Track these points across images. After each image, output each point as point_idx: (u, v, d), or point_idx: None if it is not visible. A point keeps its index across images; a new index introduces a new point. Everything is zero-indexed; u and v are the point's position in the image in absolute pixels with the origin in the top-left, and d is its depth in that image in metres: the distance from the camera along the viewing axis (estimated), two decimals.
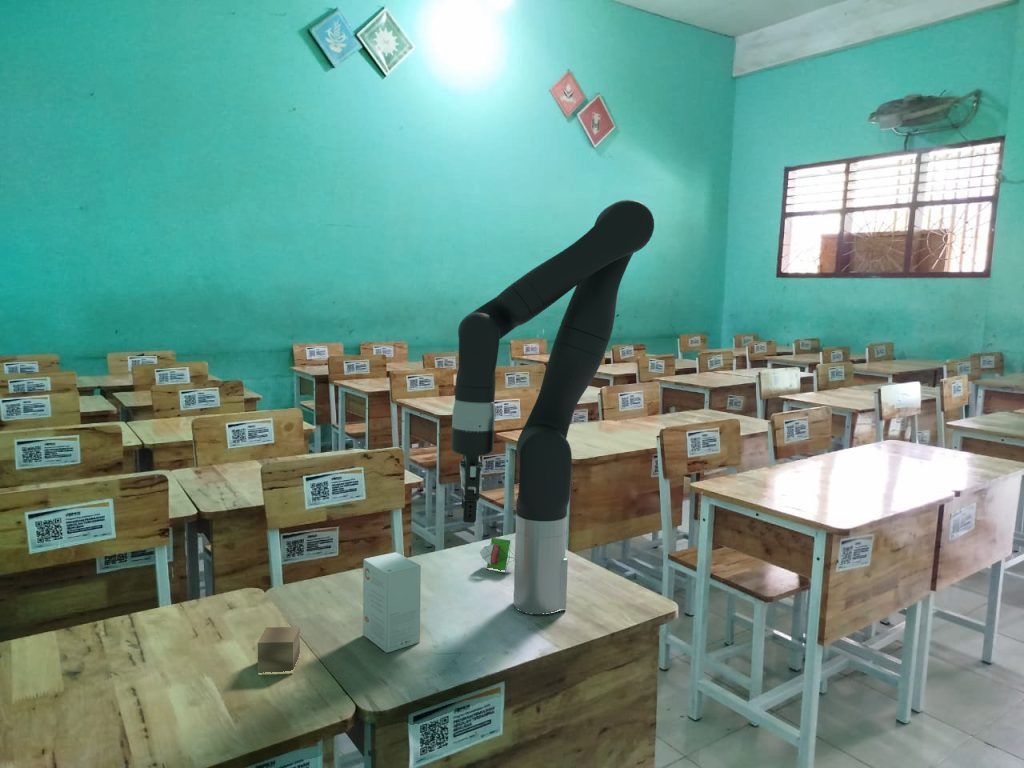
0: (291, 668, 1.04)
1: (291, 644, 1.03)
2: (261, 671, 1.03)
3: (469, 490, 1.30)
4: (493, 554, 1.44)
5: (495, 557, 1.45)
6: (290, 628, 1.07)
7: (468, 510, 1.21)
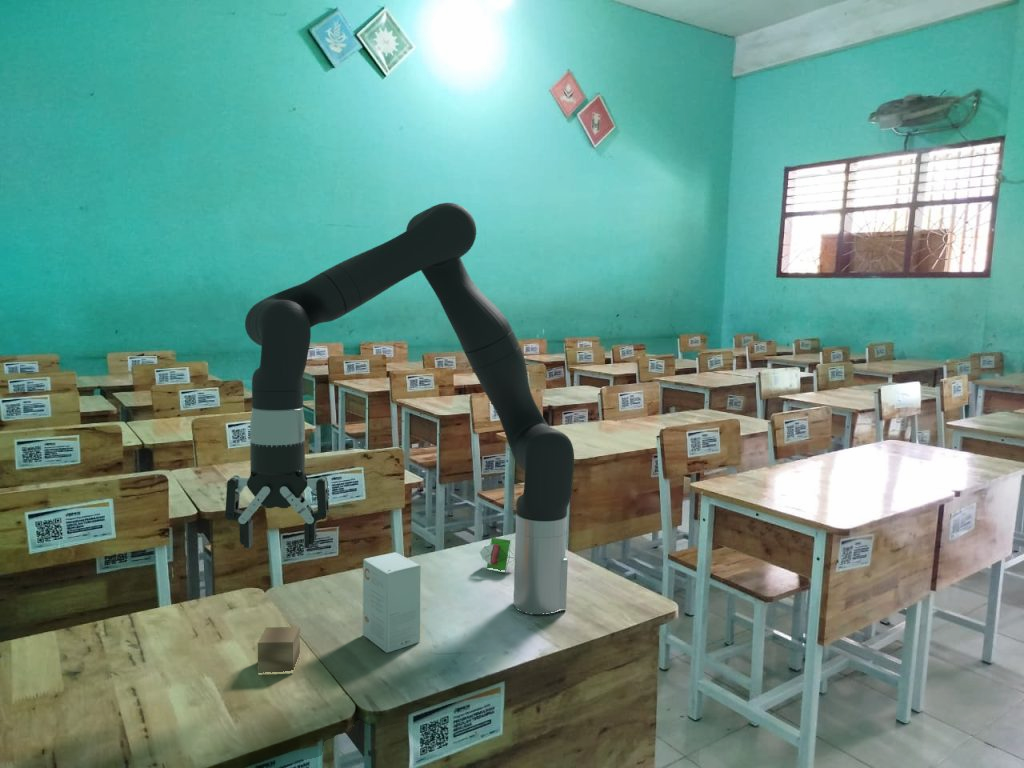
0: (291, 668, 1.04)
1: (291, 644, 1.03)
2: (261, 671, 1.03)
3: (251, 523, 1.03)
4: (493, 554, 1.44)
5: (495, 557, 1.45)
6: (290, 628, 1.07)
7: (315, 531, 1.04)
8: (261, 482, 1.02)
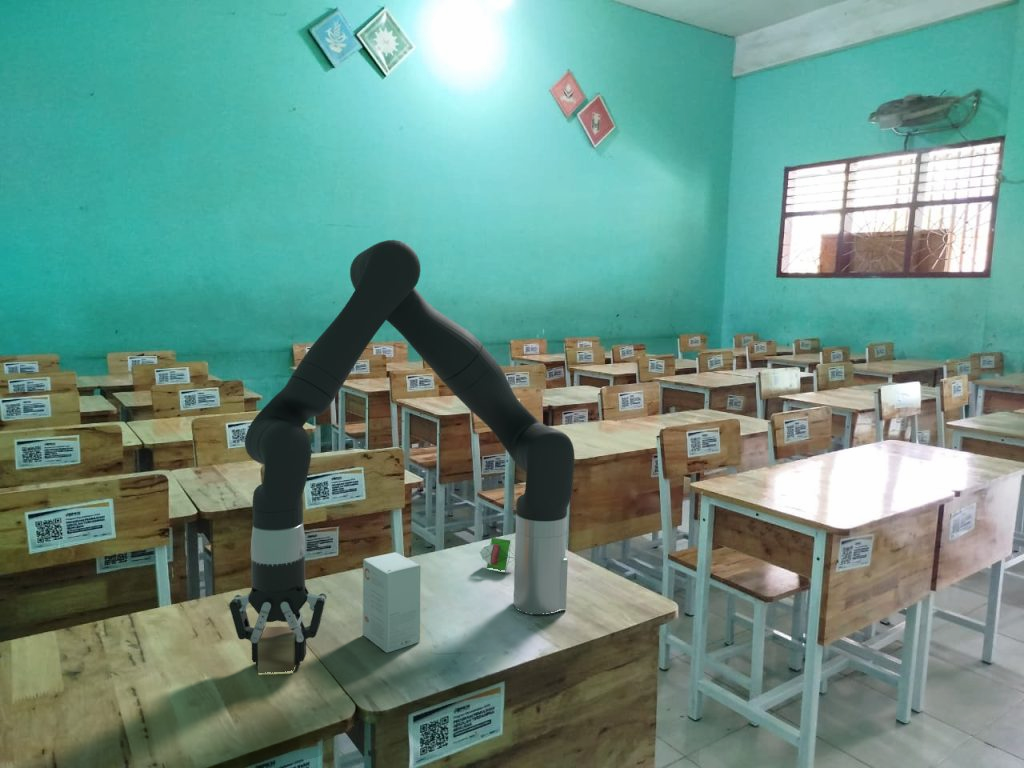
0: (291, 668, 1.03)
1: (291, 644, 1.03)
2: (261, 671, 1.03)
3: None
4: (493, 554, 1.44)
5: (495, 557, 1.45)
6: None
7: (305, 648, 1.06)
8: (262, 597, 1.03)
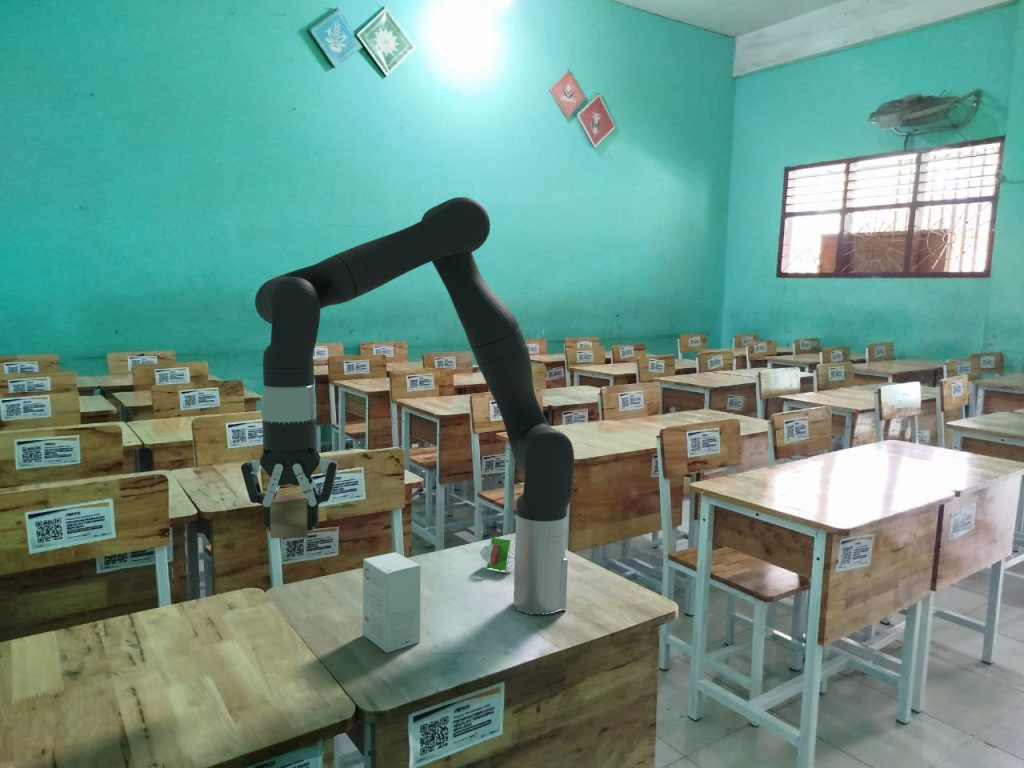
0: (304, 531, 1.02)
1: (304, 506, 1.02)
2: (274, 534, 1.02)
3: None
4: (493, 554, 1.44)
5: (495, 557, 1.45)
6: (302, 496, 1.06)
7: (317, 514, 1.04)
8: (274, 460, 1.02)
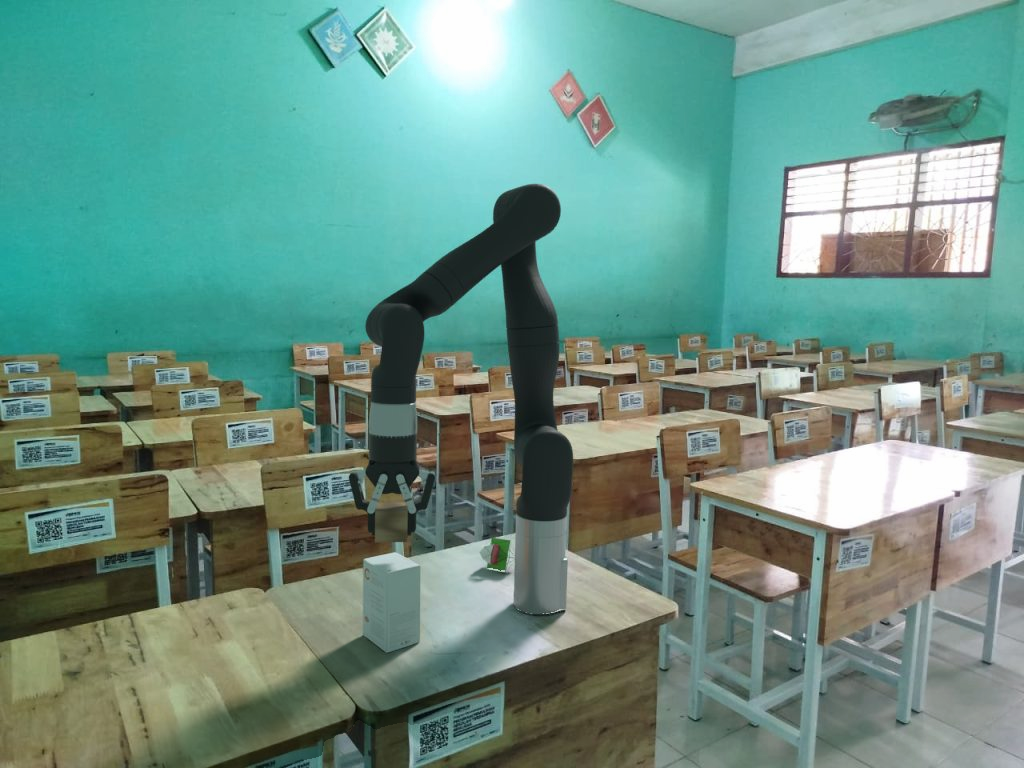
0: (405, 536, 1.11)
1: (406, 513, 1.11)
2: (378, 538, 1.11)
3: None
4: (493, 554, 1.44)
5: (495, 557, 1.45)
6: (401, 503, 1.15)
7: None
8: (378, 470, 1.11)
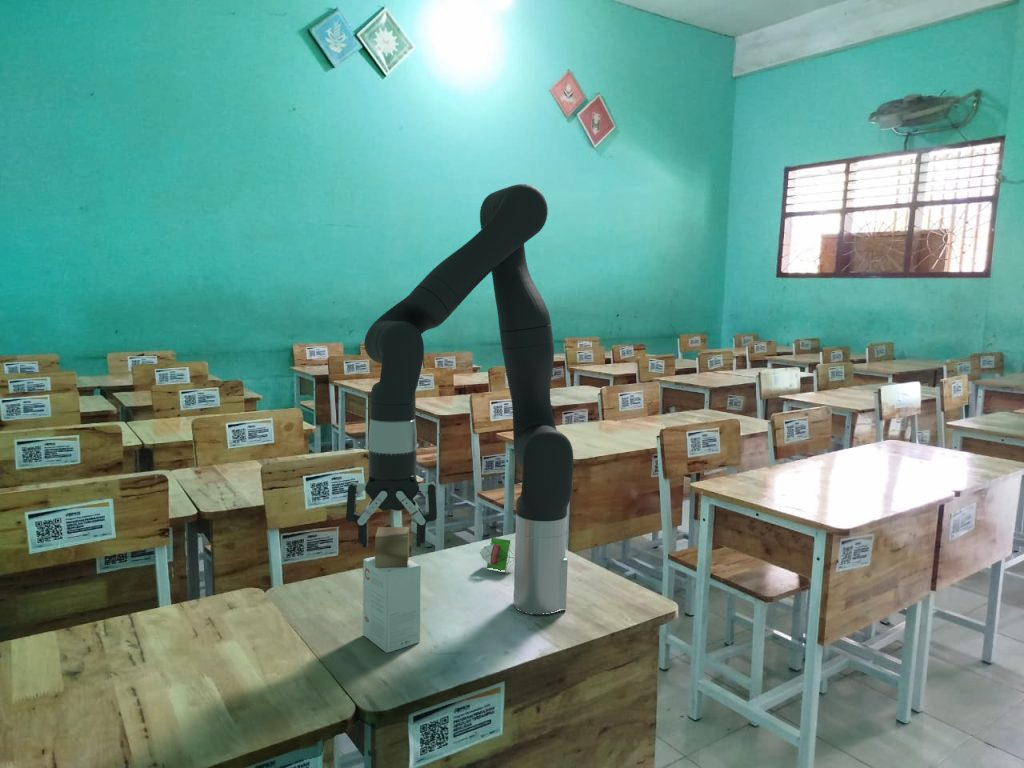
0: (405, 561, 1.12)
1: (406, 539, 1.11)
2: (378, 563, 1.11)
3: (367, 524, 1.13)
4: (493, 554, 1.44)
5: (495, 557, 1.45)
6: (401, 528, 1.15)
7: (425, 532, 1.14)
8: (378, 487, 1.11)
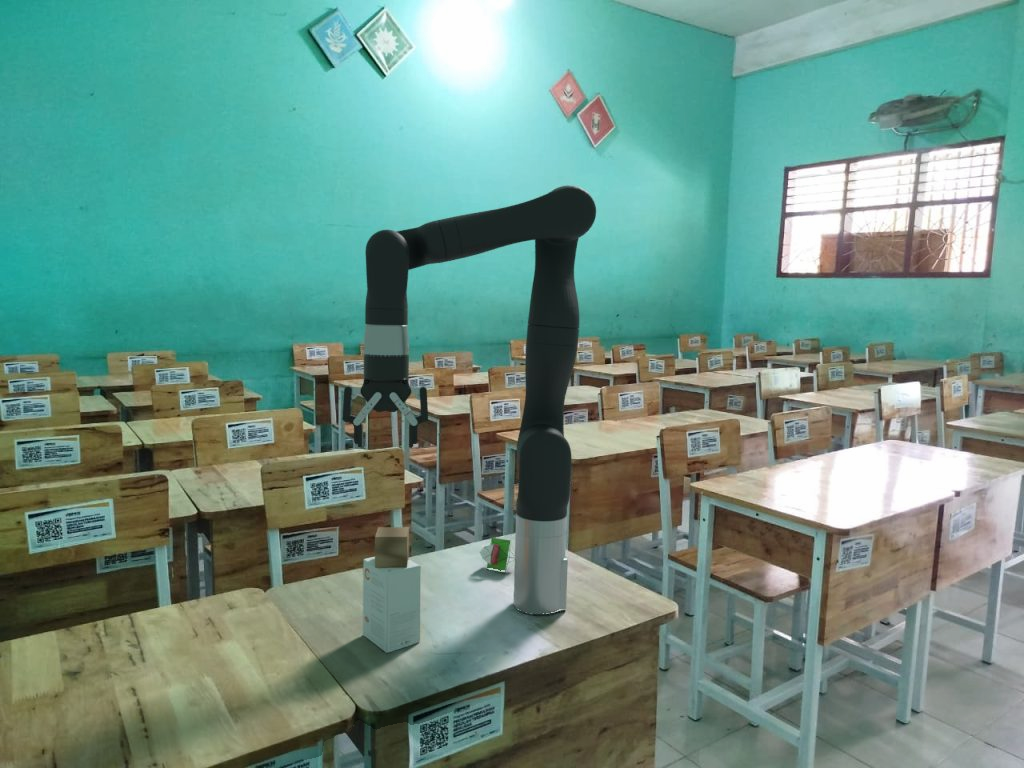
0: (405, 561, 1.12)
1: (405, 539, 1.11)
2: (378, 564, 1.11)
3: (362, 426, 1.20)
4: (493, 554, 1.44)
5: (495, 557, 1.45)
6: (401, 528, 1.15)
7: None
8: (373, 389, 1.18)
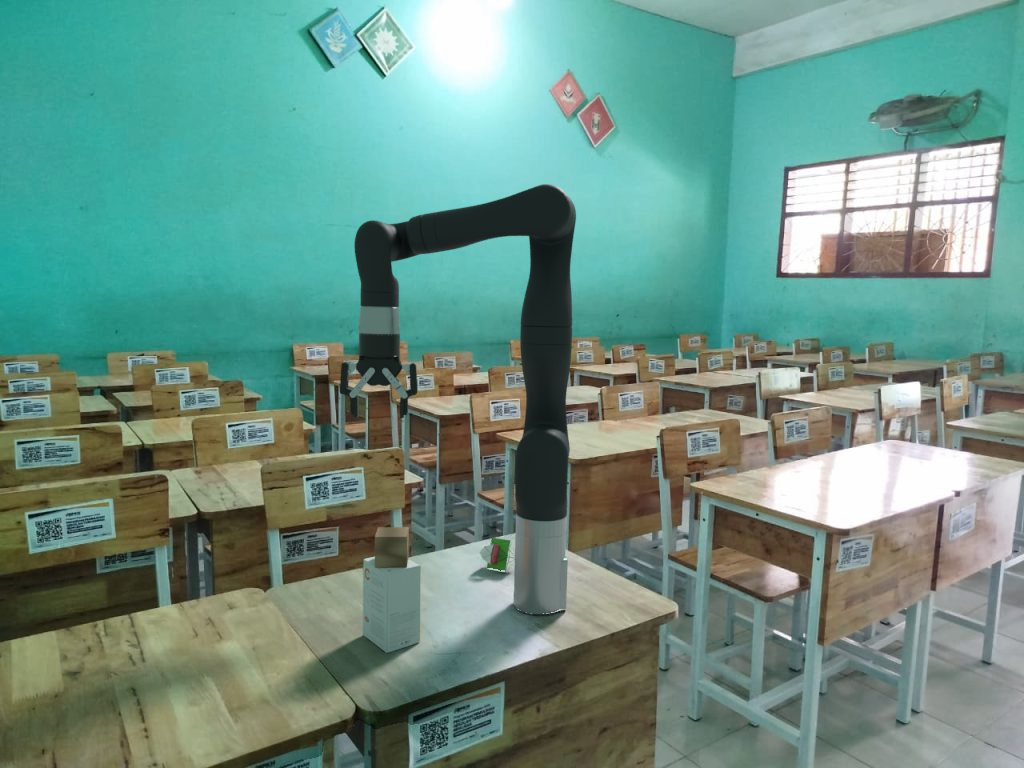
0: (405, 561, 1.12)
1: (405, 539, 1.11)
2: (378, 564, 1.11)
3: (358, 398, 1.33)
4: (493, 554, 1.44)
5: (495, 557, 1.45)
6: (401, 528, 1.15)
7: (407, 405, 1.33)
8: (367, 365, 1.31)
